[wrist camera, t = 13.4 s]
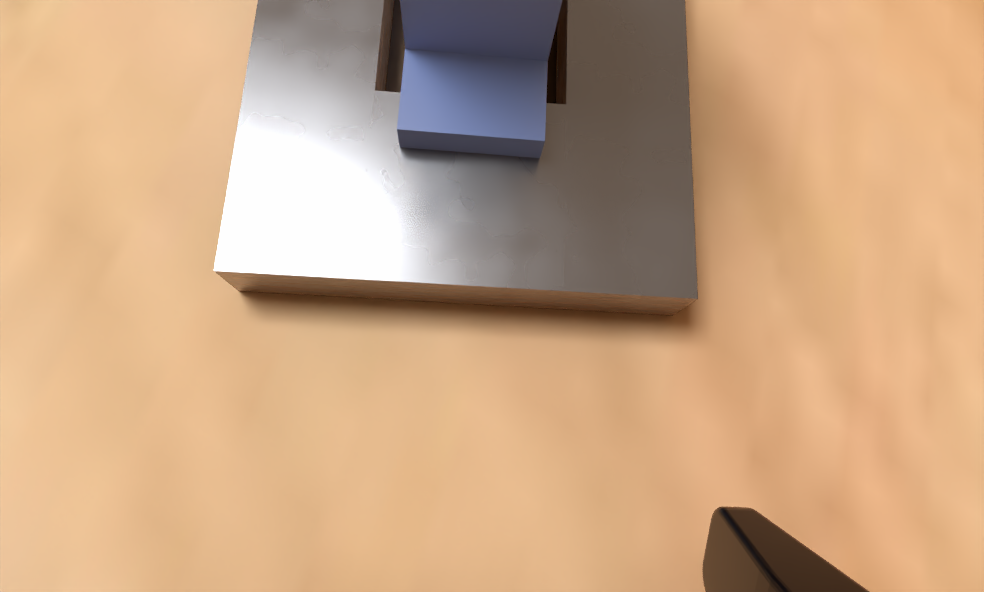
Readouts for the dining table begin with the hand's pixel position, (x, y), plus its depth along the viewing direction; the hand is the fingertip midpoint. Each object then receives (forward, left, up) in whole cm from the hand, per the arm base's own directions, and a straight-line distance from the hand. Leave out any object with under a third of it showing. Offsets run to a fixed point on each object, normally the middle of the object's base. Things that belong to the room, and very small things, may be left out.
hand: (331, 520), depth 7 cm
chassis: (+12, -7, -10) cm, 18 cm away
